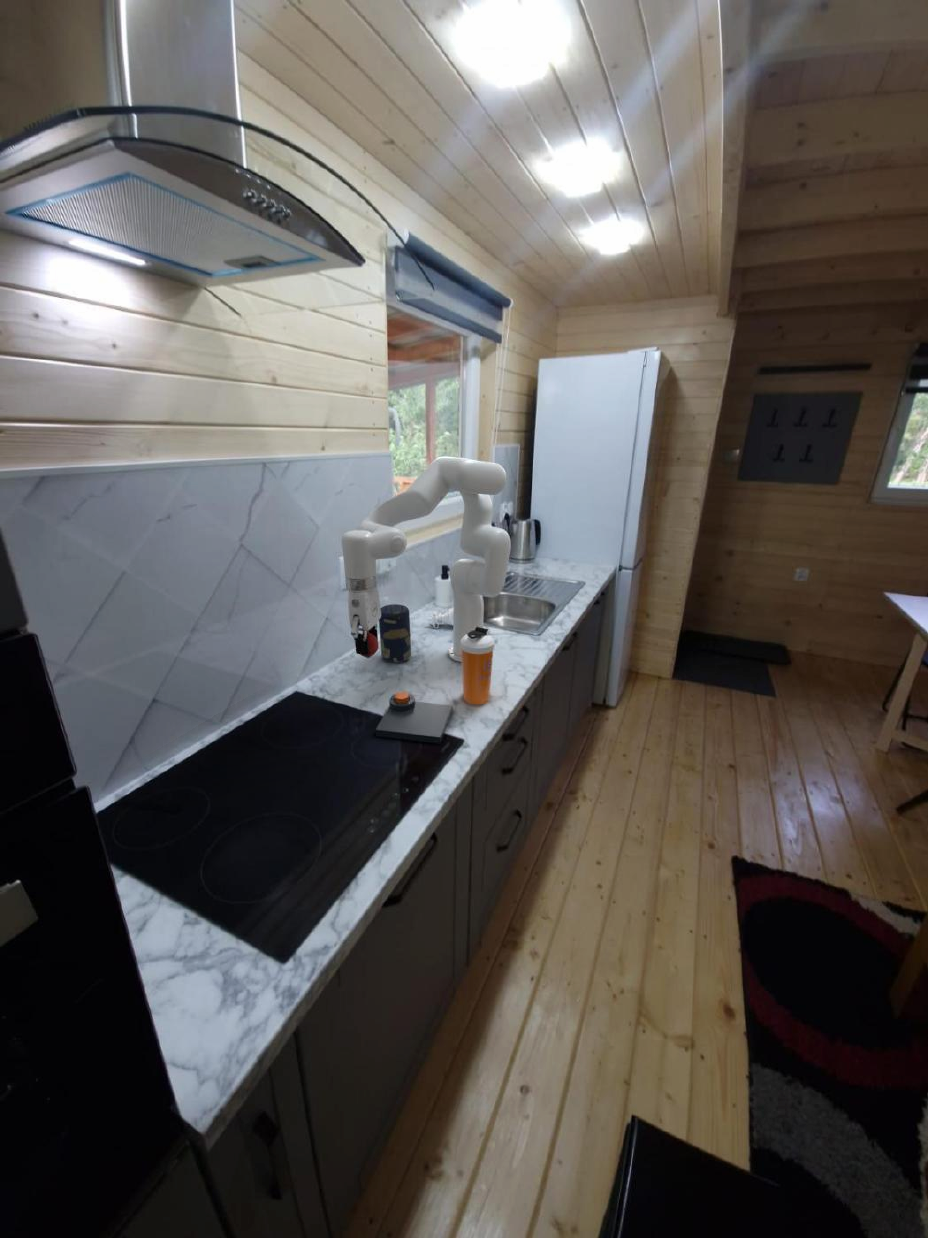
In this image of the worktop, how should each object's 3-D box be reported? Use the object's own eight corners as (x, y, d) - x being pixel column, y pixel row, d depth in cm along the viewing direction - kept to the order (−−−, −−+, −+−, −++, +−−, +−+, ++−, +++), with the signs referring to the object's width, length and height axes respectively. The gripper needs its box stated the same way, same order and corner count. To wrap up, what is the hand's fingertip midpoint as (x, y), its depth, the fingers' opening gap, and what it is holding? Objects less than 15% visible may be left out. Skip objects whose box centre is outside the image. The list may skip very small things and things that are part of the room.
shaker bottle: (455, 702, 133) (455, 635, 126) (467, 687, 141) (467, 622, 134) (486, 709, 130) (488, 640, 123) (496, 693, 138) (499, 627, 131)
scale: (394, 702, 133) (393, 691, 132) (453, 709, 130) (453, 697, 129) (374, 736, 119) (374, 723, 118) (440, 744, 117) (440, 731, 115)
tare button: (397, 696, 130) (397, 691, 130) (410, 697, 130) (410, 692, 129) (393, 703, 127) (393, 698, 127) (406, 704, 127) (406, 699, 126)
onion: (374, 664, 126) (372, 635, 123) (353, 661, 127) (350, 633, 124) (382, 653, 131) (380, 626, 128) (362, 651, 132) (359, 624, 129)
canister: (414, 652, 162) (413, 601, 155) (406, 666, 153) (404, 611, 146) (386, 650, 163) (383, 599, 156) (377, 663, 154) (373, 609, 148)
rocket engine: (423, 601, 178) (472, 592, 176) (430, 611, 189) (476, 603, 187) (427, 631, 174) (477, 622, 172) (434, 640, 185) (481, 631, 183)
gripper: (362, 594, 112) (368, 665, 119) (387, 572, 128) (392, 635, 135) (331, 592, 114) (339, 662, 121) (360, 570, 129) (366, 633, 136)
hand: (367, 647), depth 128 cm, fingers closed on onion, 5 cm apart
